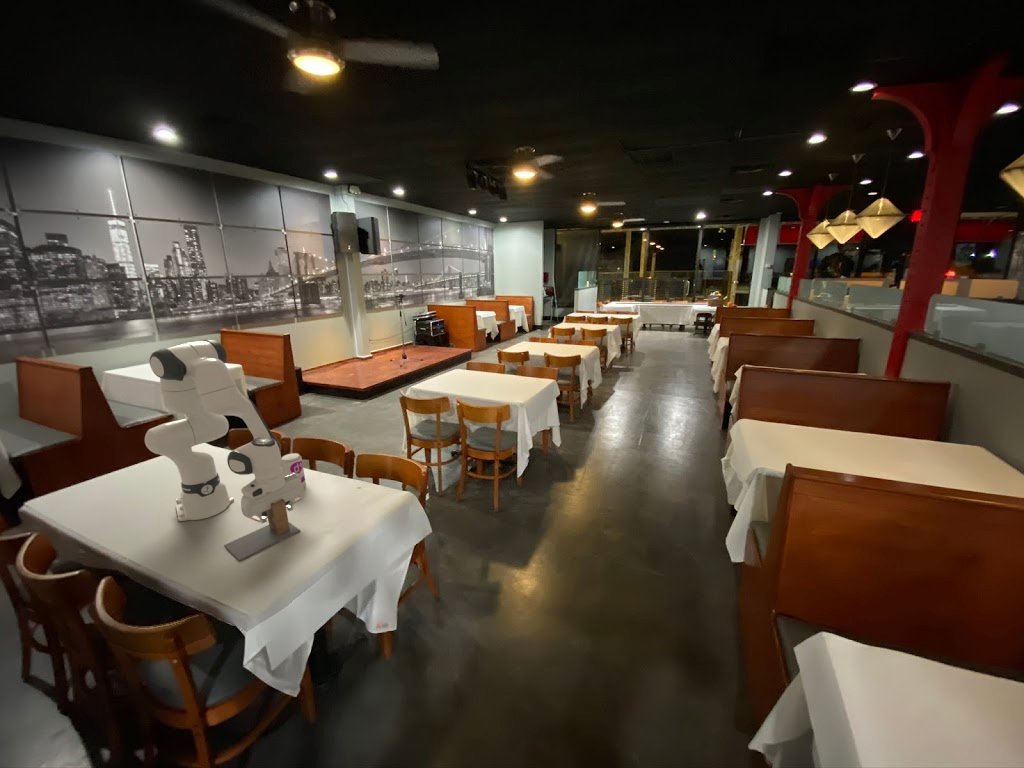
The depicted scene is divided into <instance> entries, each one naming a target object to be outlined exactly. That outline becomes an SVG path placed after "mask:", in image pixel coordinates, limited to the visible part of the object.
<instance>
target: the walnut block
mask: <svg viewBox="0 0 1024 768" xmlns="http://www.w3.org/2000/svg"><path fill="white" fill-rule="evenodd" d="M267 517H268V518H267V522H268V525H269V527H270V529H272V530H273V531H274V532H276V533H277V534H278V535H279V534H281V533H283V532H285V531H288V530H290V527H289V523H290V522H289V517H288V510H287V507H286V505H285V500H283V499H281V500H277V501H275V502H273V503H271V509H269V510H267Z"/></svg>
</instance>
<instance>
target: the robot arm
mask: <svg viewBox="0 0 1024 768" xmlns="http://www.w3.org/2000/svg"><path fill="white" fill-rule="evenodd" d="M227 359H228V353H227V350H226V348H225V346H224V345H223V344H222V343H221V342H220V341H217V340H215V339H214V340H213V339H204V340H201V341H192V342H191V341H190V342H185V343H182V344H178V345H174V346H170V347H167V348H165V347H164V348H160V349H158V350H155V351H154V352H152V353H151V355H150V357H149V366H150V368H151V371H152V372H153V373H154V375H156V377H158V378H159V383H160V388H161V393H162V394H161V395H162V397H163V403H164V407H165V408H166V410H168V411H170V412H172V413H175V414H181V415H187V416H186V417H185V418H181V419H177V420H174V421H169V422H165V423H162V424H158V425H157V426H154V427H151V428H149V429H148V430H147V431H146V433H145V436H144V444H145V446H146V448H147V450H149V451H150V452H152V453H154V454H155V455H161V456H163V457H166V458H168V459H170V460H171V461H172V462H173V463H174V464H175V466H176V467H177V469H178V472H179V477H180V479H181V483H180V484H181V485H180V487H181V490H182V491H181V492H180V493H179V496H180V497H179V498H176V499H175V503H176V504H175V508H176V514H177V519H178V521H179V522H184V521H196V520H197V521H198V520H203V519H207V518H211V517H214V516H216V515H218V514H220V513H222V512H223V511H225V510H226V509H227V508H228V507H229V505H230V504H231V503H233V502H234V501H235V499H234V497H232V496H231V495H230V496H229V493H228V489H227V487H226V484H224V483H222V482H221V480H220V478H221V477H220V475H219V473H218V472H217V468H216V464H215V460H214V457H213V456H212V455H211V454H210V453H207V452H203V451H193V449H192V448H193V447H196V446H198V445H202V444H205V443H209V442H214V441H215V440H217V439H220V438H222V437H224V436H226V435H227V433H228V432H229V427H230V424H229V420H228V419H227V418H226V416H234V417H238V418H240V419H242V420H243V422H244V423H245V424H246V426H247V428H248V429H249V432H250V433H251V435H252V436H253V440H251V441H250V442H248V443H246V444H244V445H241V446H239V447H237V448H235V449H233V450H232V451H230V452H229V453H228V455H227V460H226V462H227V466H228V468H229V470H230V471H231V472H233V473H234V474H237V475H240V476H245V475H246V476H247V475H252V474H253V475H254V479H253V480H252V481H250V482H249V483H248V484H246V485H245V486H243V487H242V488H241V490H240V491H241V493H242V497H241V499H240V507H241V514H242V515H243V516H244V517H245V518H248V519H251V518H250V517H253V516H255V515H256V516H257V517H258V518H260V521H259V522H260V524H265V523H267V522H268V519H267V518H266V517H264V516H263V517H261V515H262V512H264V511H267V510H269V509H271V503H273V502H275V501H277V500H281V499H283V500H285V502H288V501H290V503H289V505H288V506H287V507H286V511H287V512H292V511H294V504H295V503H296V502H295V498H297V497H302V496H303V495H304V494H305V490H304V488H303V485H302V483H301V475H300V474H299V473H293V474H291V475H287V476H284V471H283V468H282V466H281V462H282V455H281V452H282V446H281V443H280V441H279V440H278V438H277V437H276V436H275V435H274V434H273V432H272V430H271V429H270V428H269V426H268V424H267V423H266V421H265V420H264V417H263V416H262V415H261V412H260V411H259V409H258V407H257V406H256V404H255V403H254V402H253V401H252V399H250V398H248V397H246V396H244V395H243V393H242V392H241V391H240V390H239V388H238V386H237V384H236V382H235V379H234V377H233V375H232V373H231V371H230V370H229V368H228V366H227V365H226V362H227Z"/></svg>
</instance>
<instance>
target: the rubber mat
mask: <svg viewBox="0 0 1024 768" xmlns="http://www.w3.org/2000/svg"><path fill="white" fill-rule="evenodd" d="M289 527H290V530H288V531H285V532H283V533H281V534H279V535H278V534H277V533H276V532H274V531H273V530H272V529H270V527H269V524H267V525H265V526H263V527H260V528H259V529H256V530H254V531H252V532H250V533H248V534H245V535H243V536H240V537H238V538H236V539H234V540H232V541H229V542H228V543H226V544H224V545H223V546H224V548H226V550H227V549H228V550H229V551H228V550H227V551H228V552H229V553H231V555H232V556H234V557H235V558H236V560H238V561H239V562H241V561H244V560H247V558H249V557H251V556H253V555H256V554H257V553H260V552H262V551H264V550H266V549H267V548H270V547H272V546H274V545H276V544H278V543H280V542H282V541H284V540H286V539H288V538H290V537H292V536H294V535H296V534H298V533H300V532H301V529H300V528H298V527H296V526H295V525H293V524H292V523H291V522H289Z"/></svg>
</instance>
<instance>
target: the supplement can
mask: <svg viewBox="0 0 1024 768" xmlns="http://www.w3.org/2000/svg"><path fill="white" fill-rule="evenodd" d="M281 459H282V462H281V466H282V468H283V471H284V476H287V475H291V474H293V473H299V474H300V475H301V483H302V485H303V488H304V487H306V484H307V482H306V477H305V475H306V474H305V470H304V464H303V459H302V456H301V455H300V453H298V452H292V453H291V452H290V453H287V454H285V455H282V456H281Z"/></svg>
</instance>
